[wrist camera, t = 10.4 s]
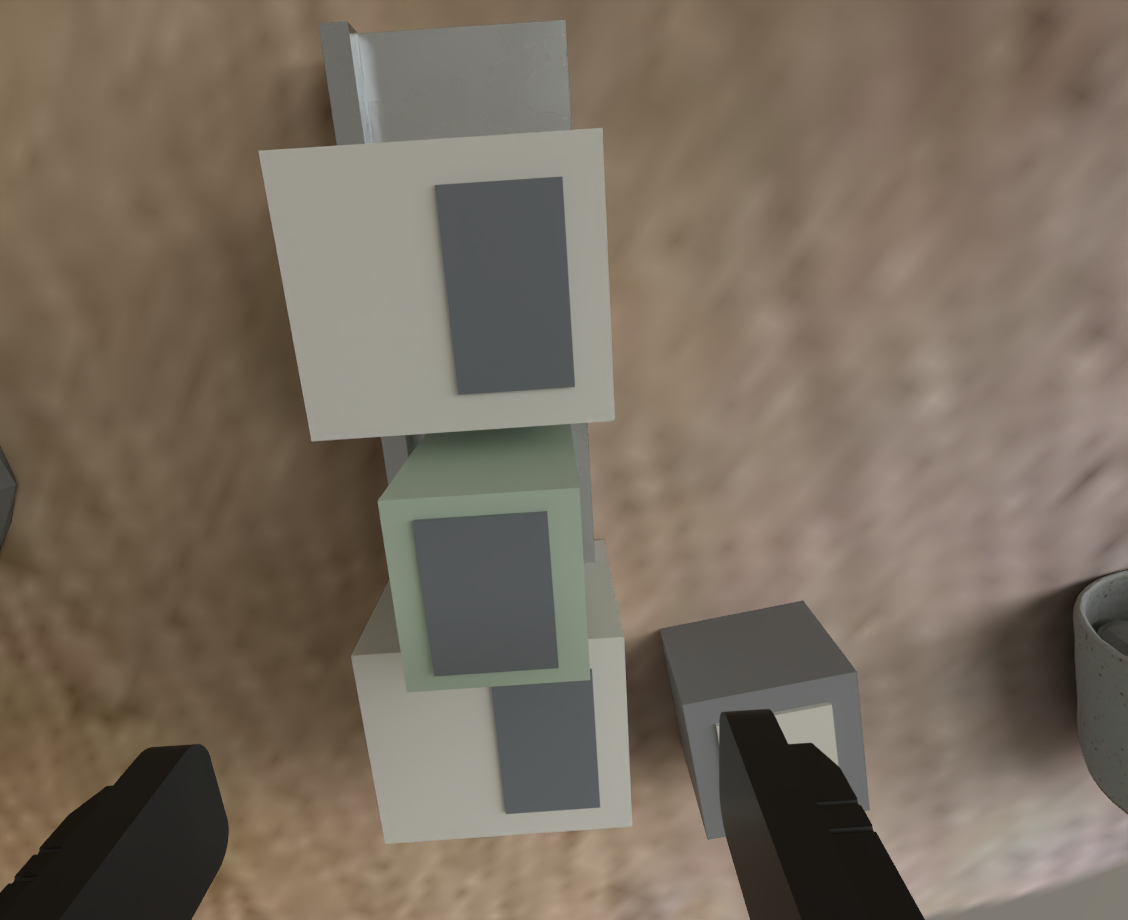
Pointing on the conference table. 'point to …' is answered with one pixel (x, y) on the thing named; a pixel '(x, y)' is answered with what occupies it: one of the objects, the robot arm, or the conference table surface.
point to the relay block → (762, 692)
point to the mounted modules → (463, 403)
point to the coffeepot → (5, 496)
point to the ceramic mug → (1103, 682)
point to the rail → (453, 120)
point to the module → (488, 559)
